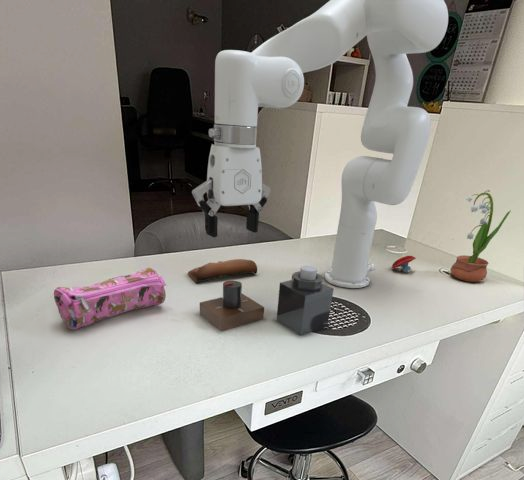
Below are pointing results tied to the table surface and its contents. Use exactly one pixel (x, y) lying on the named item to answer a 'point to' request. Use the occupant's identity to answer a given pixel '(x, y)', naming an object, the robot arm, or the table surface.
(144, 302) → the pencil case
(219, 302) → the control box
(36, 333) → the table surface
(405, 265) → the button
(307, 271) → the grey cylinder plug
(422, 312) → the table surface
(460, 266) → the potted flower
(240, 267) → the sunglasses case
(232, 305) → the dial
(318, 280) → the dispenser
